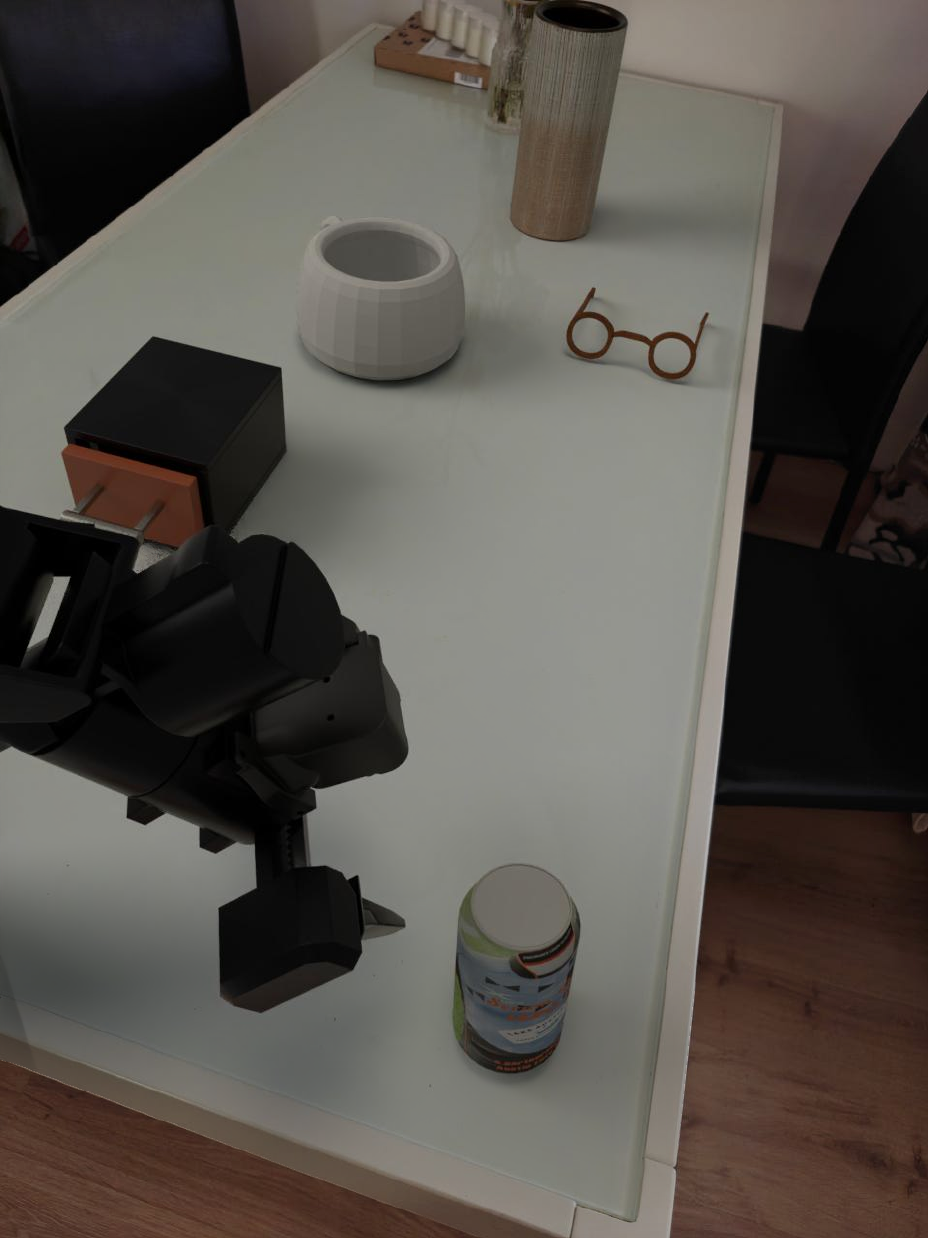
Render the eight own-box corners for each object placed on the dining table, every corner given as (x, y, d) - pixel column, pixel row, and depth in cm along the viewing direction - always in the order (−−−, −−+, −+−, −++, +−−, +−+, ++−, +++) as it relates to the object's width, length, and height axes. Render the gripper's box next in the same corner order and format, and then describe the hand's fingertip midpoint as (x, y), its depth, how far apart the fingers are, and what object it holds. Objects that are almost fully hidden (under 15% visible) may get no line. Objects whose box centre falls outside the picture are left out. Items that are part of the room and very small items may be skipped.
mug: (493, 366, 99) (504, 273, 92) (342, 407, 93) (341, 311, 85) (392, 266, 111) (395, 176, 104) (252, 296, 104) (244, 203, 97)
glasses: (561, 355, 102) (569, 311, 98) (590, 295, 110) (598, 253, 106) (687, 387, 100) (700, 343, 96) (706, 323, 108) (719, 281, 104)
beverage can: (481, 1103, 52) (507, 1017, 44) (422, 979, 57) (435, 878, 48) (582, 1051, 55) (626, 960, 46) (518, 935, 59) (547, 831, 50)
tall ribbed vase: (585, 206, 125) (621, 2, 108) (595, 244, 118) (635, 33, 102) (507, 200, 124) (531, -6, 108) (511, 238, 118) (538, 25, 101)
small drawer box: (218, 550, 79) (206, 464, 72) (85, 513, 80) (63, 427, 74) (287, 450, 88) (281, 367, 81) (166, 419, 89) (152, 335, 83)
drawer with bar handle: (171, 595, 74) (157, 527, 69) (45, 559, 75) (23, 490, 70) (266, 459, 85) (261, 393, 80) (156, 430, 87) (144, 363, 82)
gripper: (323, 856, 33) (557, 961, 43) (288, 482, 45) (478, 637, 55) (92, 977, 36) (360, 1046, 47) (117, 602, 48) (326, 725, 59)
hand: (386, 844), depth 52 cm, fingers open, 9 cm apart
